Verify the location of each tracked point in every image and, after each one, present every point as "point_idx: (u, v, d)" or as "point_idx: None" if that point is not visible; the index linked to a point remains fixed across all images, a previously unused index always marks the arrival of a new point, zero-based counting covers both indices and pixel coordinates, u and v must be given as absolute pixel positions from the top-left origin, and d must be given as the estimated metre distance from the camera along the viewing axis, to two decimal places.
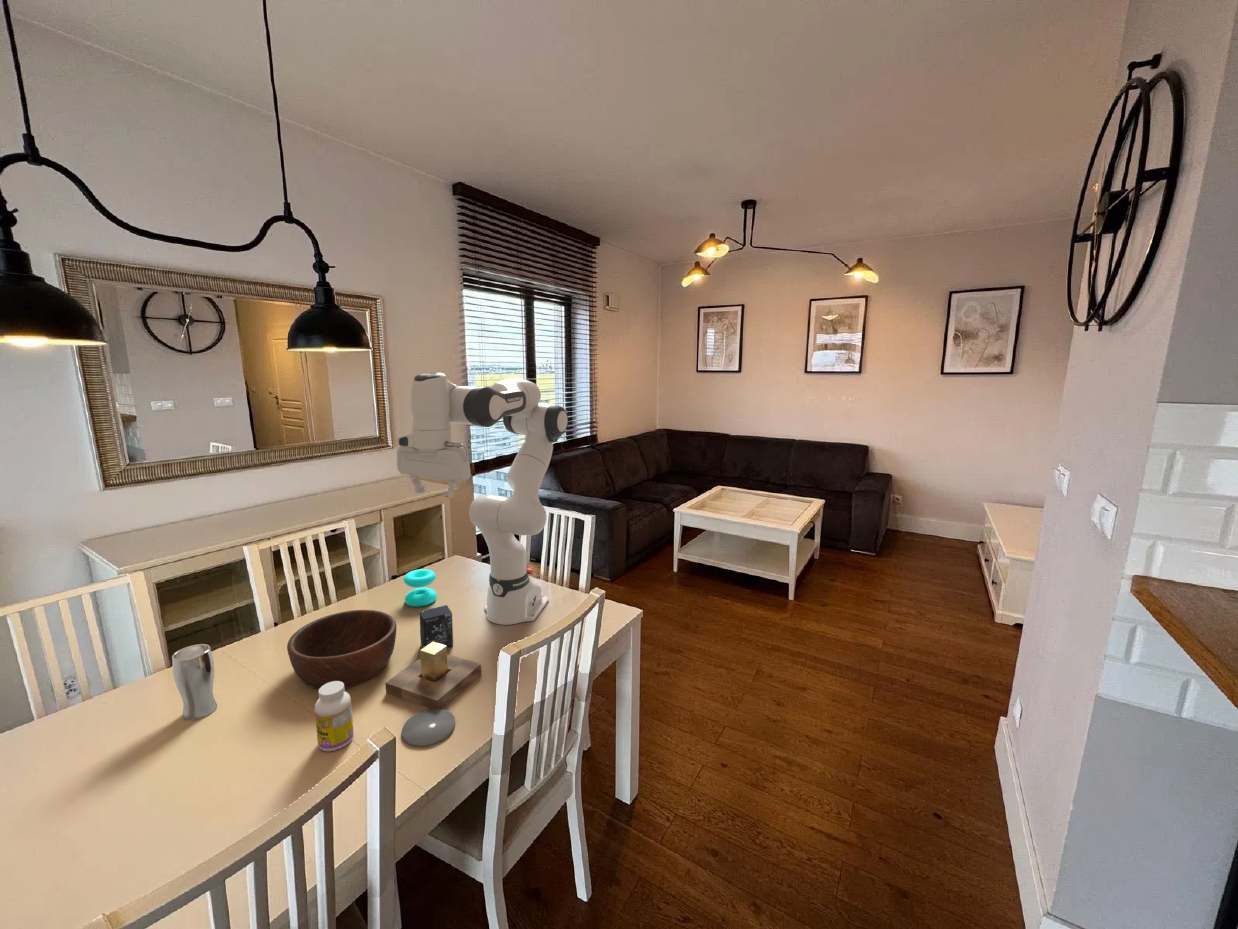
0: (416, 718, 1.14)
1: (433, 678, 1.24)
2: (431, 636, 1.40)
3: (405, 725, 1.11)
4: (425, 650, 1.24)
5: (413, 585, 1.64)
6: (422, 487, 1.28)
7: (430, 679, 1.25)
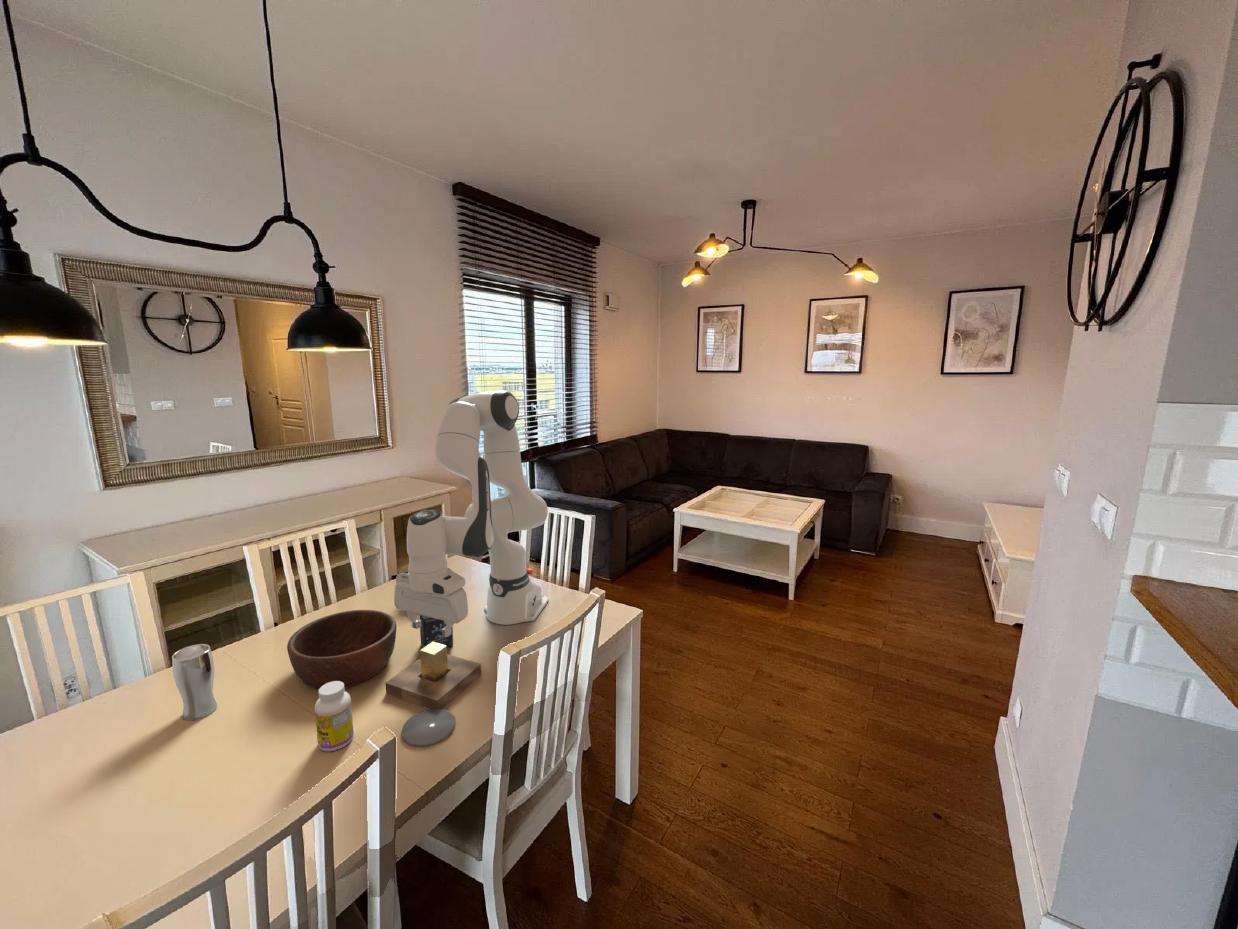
0: (416, 718, 1.14)
1: (433, 678, 1.24)
2: (431, 636, 1.40)
3: (405, 725, 1.11)
4: (425, 650, 1.24)
5: None
6: None
7: (430, 679, 1.25)
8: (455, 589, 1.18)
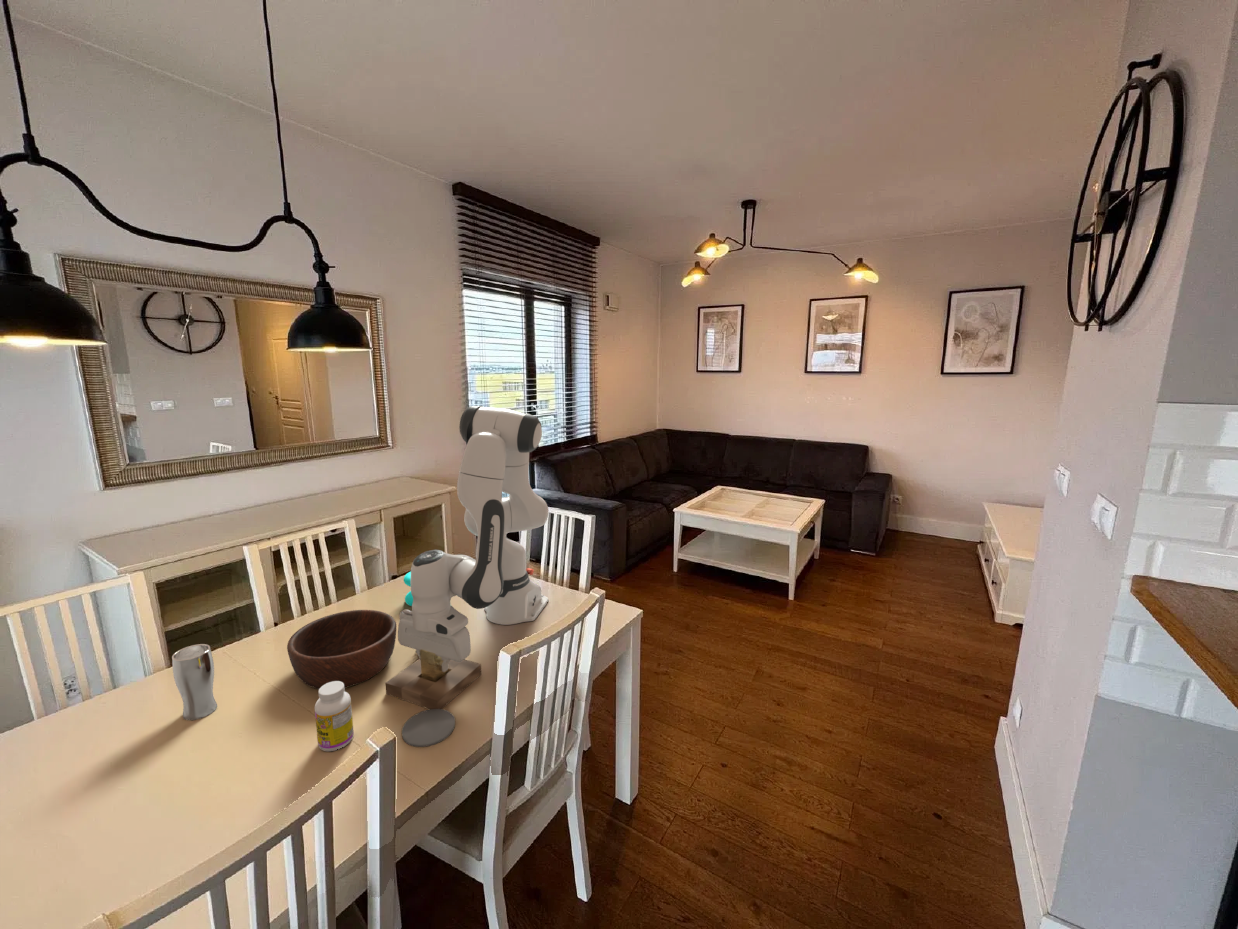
0: (416, 718, 1.14)
1: (433, 678, 1.24)
2: None
3: (405, 725, 1.11)
4: None
5: None
6: None
7: (430, 679, 1.25)
8: (458, 629, 1.20)
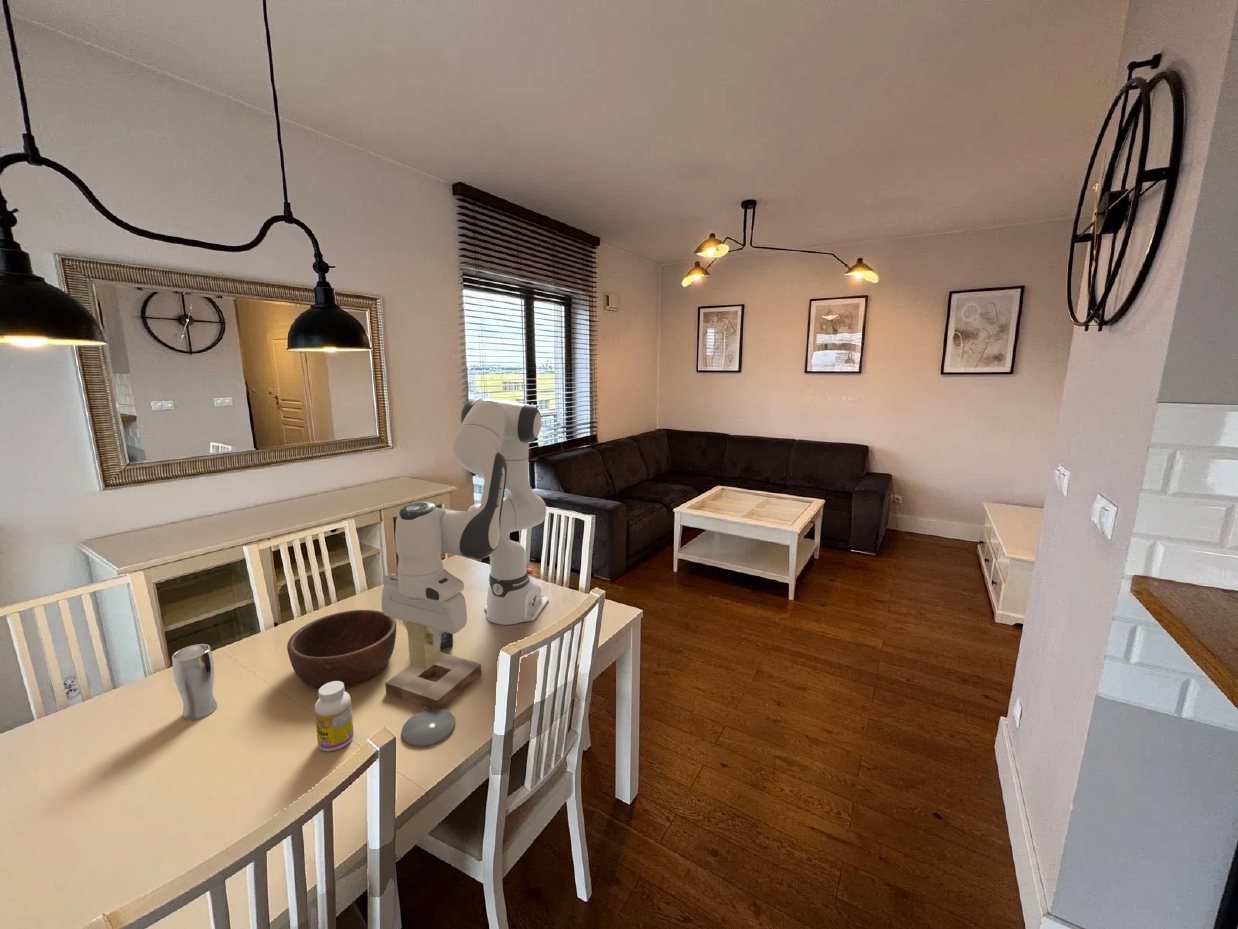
0: (416, 718, 1.14)
1: (422, 655, 1.05)
2: None
3: (405, 725, 1.11)
4: (413, 622, 1.05)
5: None
6: None
7: (419, 656, 1.06)
8: (452, 594, 1.01)
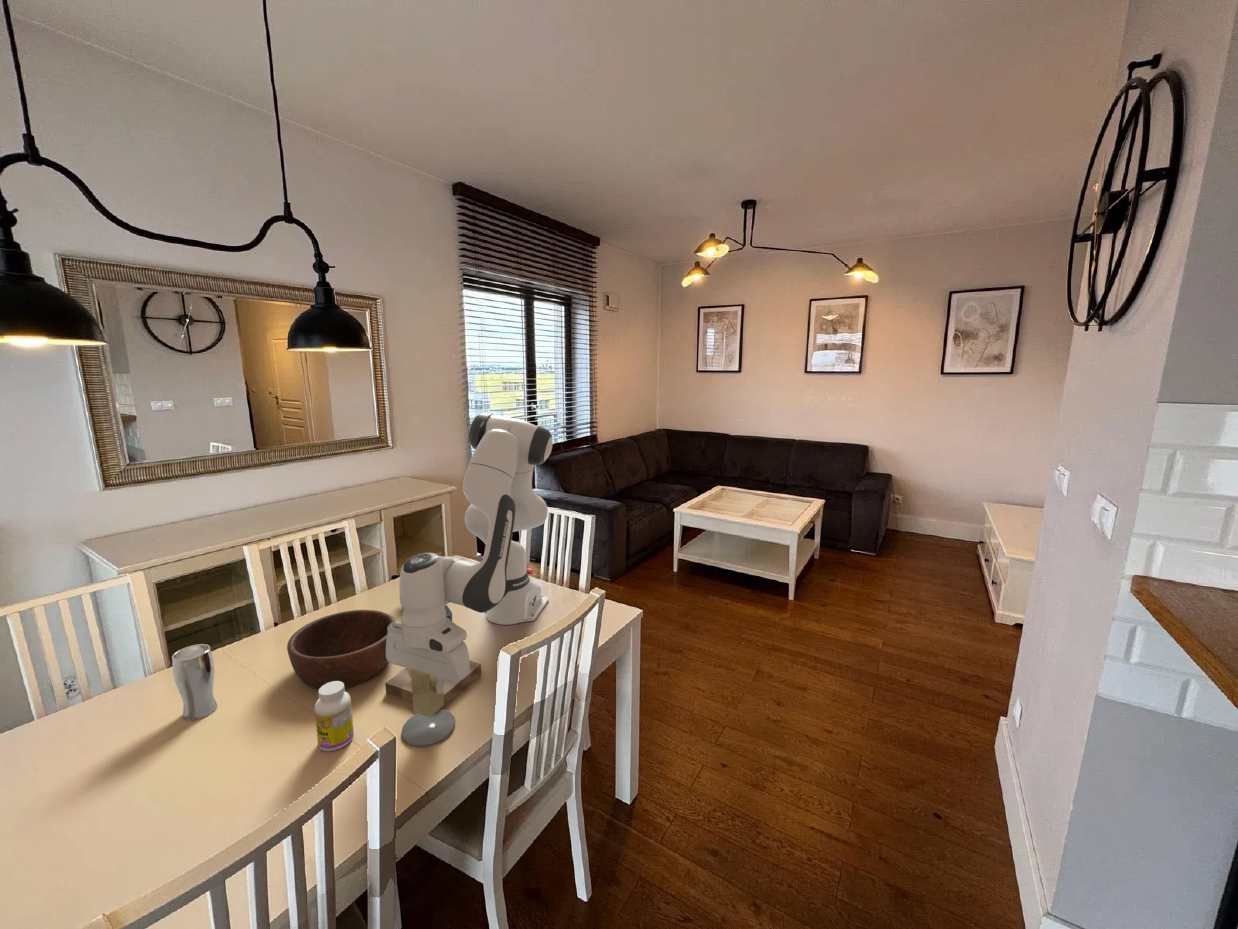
0: (416, 718, 1.14)
1: (426, 703, 1.07)
2: None
3: (405, 725, 1.11)
4: (416, 670, 1.08)
5: None
6: None
7: (423, 704, 1.08)
8: (455, 645, 1.03)
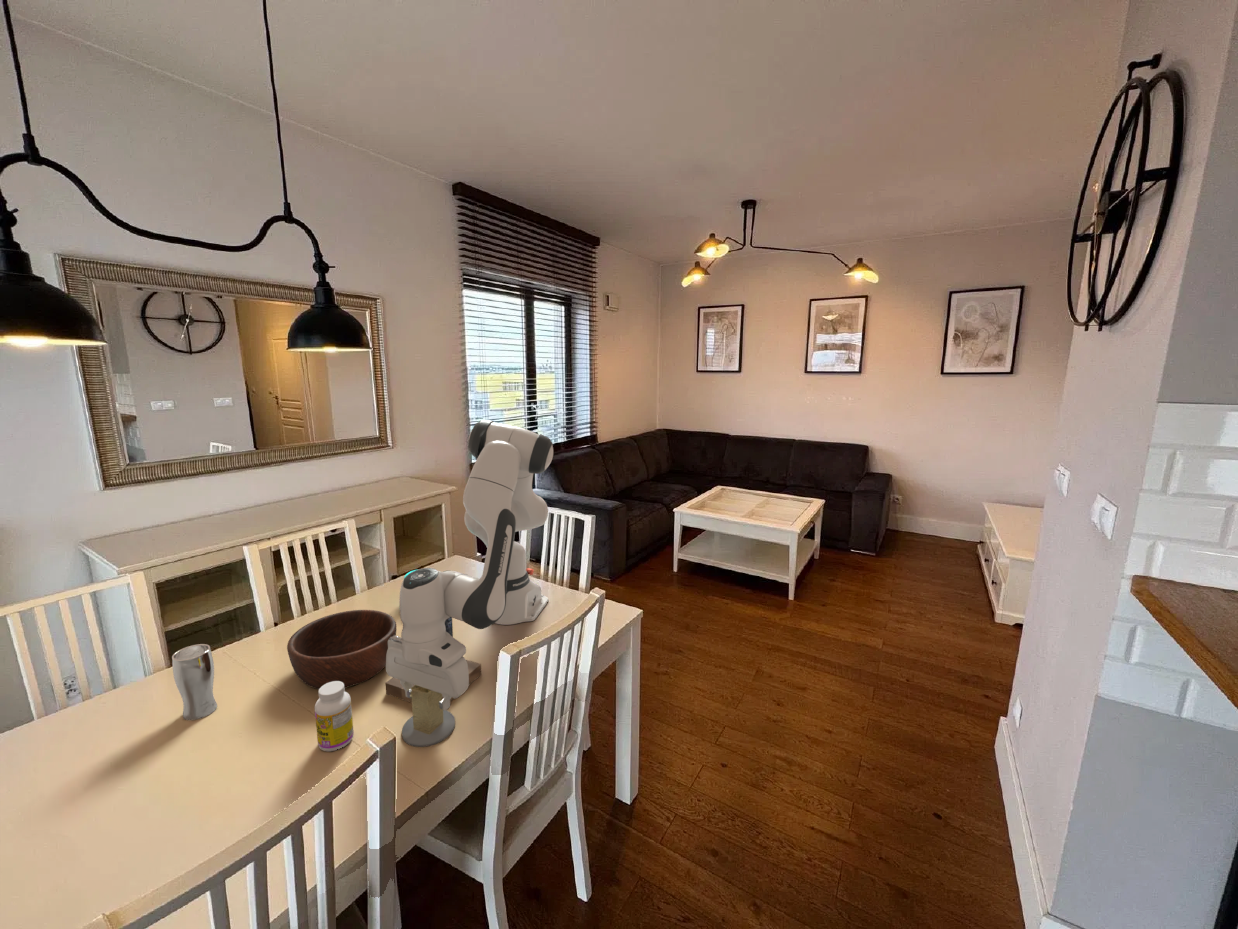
0: None
1: (426, 720, 1.09)
2: None
3: (405, 725, 1.11)
4: (417, 688, 1.09)
5: None
6: None
7: (423, 721, 1.09)
8: (455, 660, 1.04)
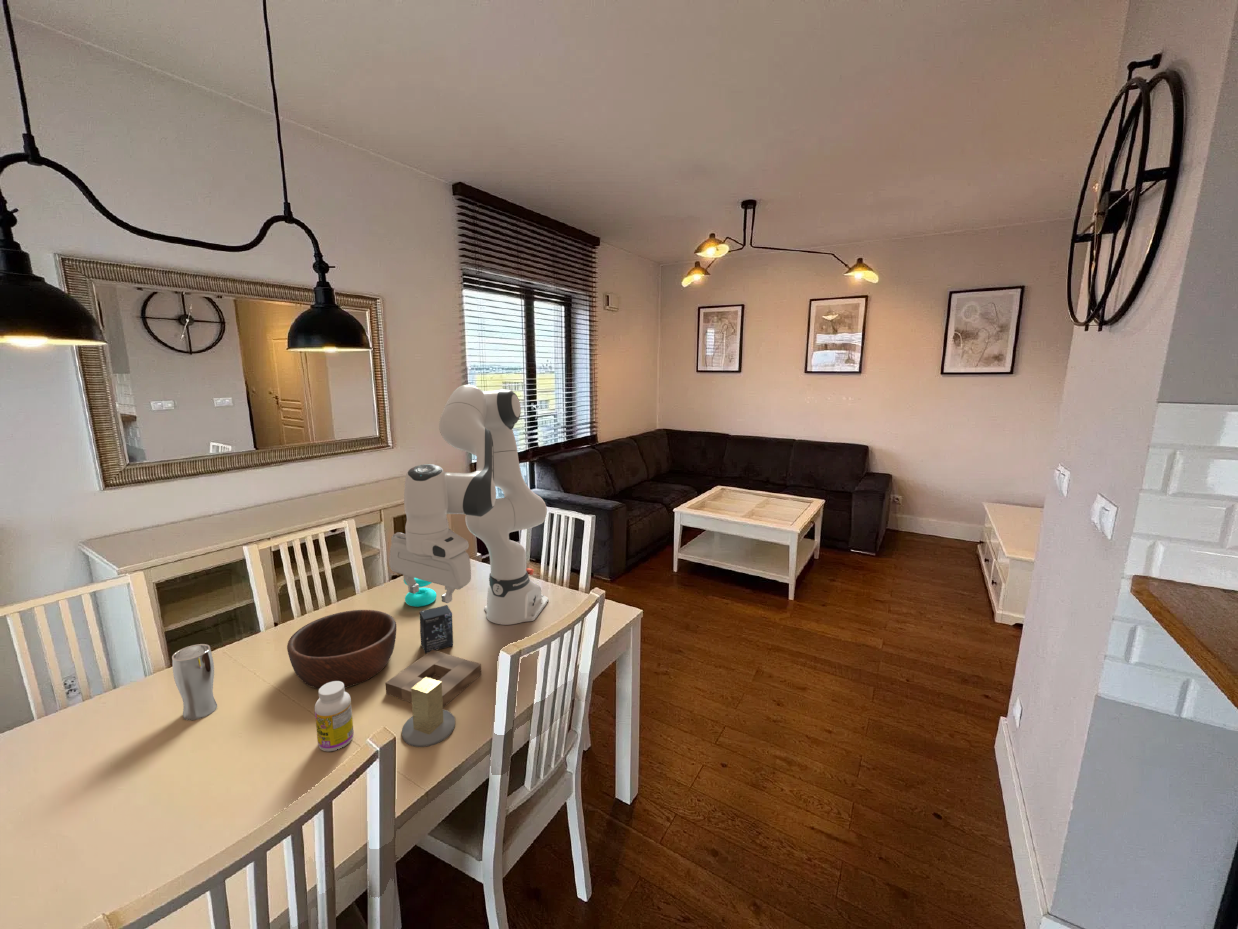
0: None
1: (426, 720, 1.09)
2: (431, 636, 1.40)
3: (405, 725, 1.11)
4: (417, 688, 1.09)
5: None
6: None
7: (423, 721, 1.09)
8: (457, 552, 1.07)
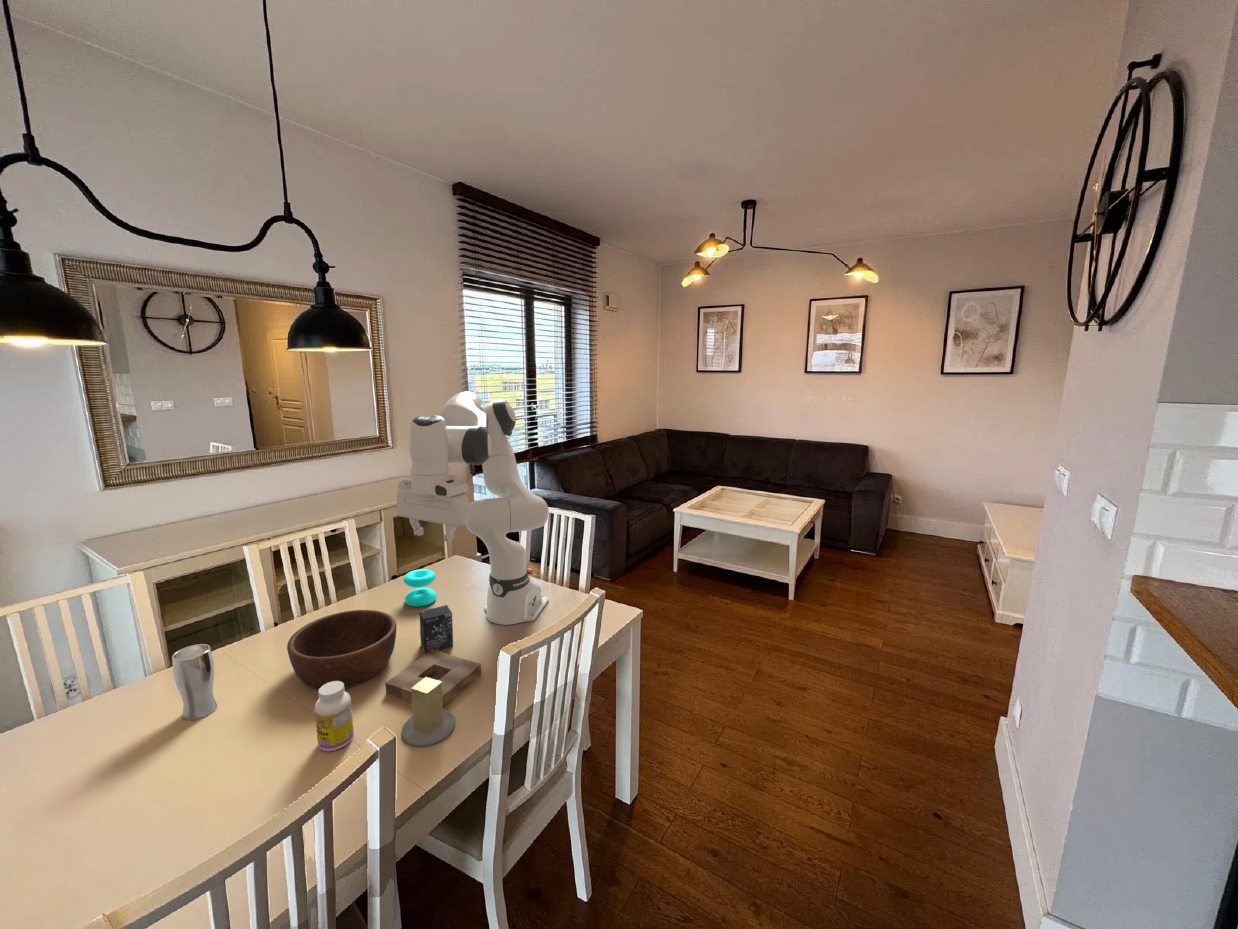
0: None
1: (426, 720, 1.09)
2: (431, 636, 1.40)
3: (405, 725, 1.11)
4: (417, 688, 1.09)
5: (413, 585, 1.64)
6: None
7: (423, 721, 1.09)
8: (458, 492, 1.18)
